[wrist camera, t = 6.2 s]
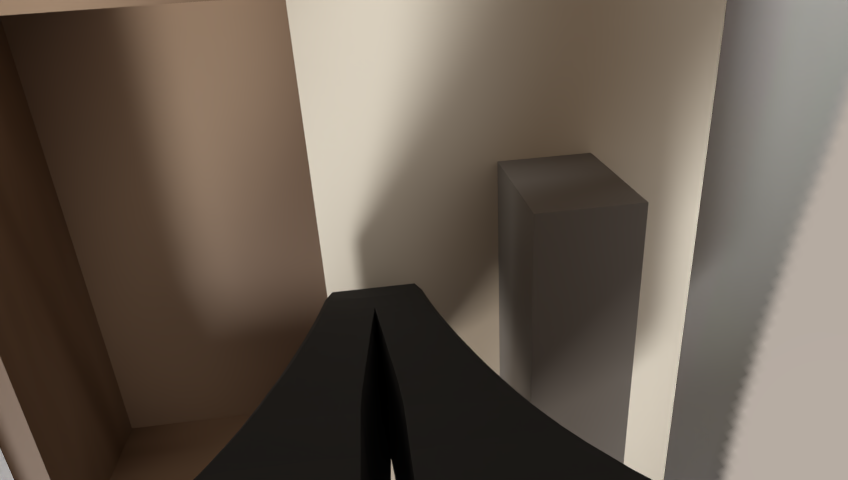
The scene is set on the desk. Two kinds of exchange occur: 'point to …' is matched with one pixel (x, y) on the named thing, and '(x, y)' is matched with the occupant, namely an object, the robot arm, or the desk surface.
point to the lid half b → (522, 185)
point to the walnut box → (147, 231)
